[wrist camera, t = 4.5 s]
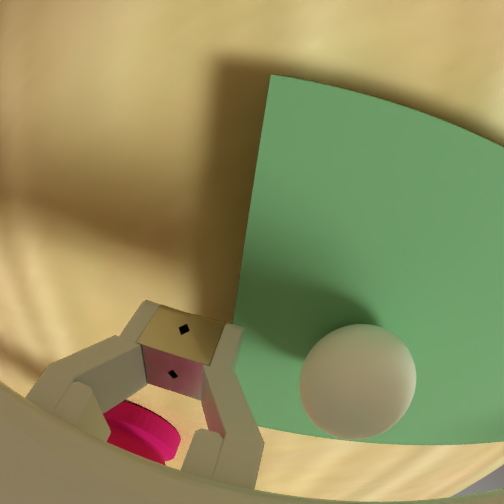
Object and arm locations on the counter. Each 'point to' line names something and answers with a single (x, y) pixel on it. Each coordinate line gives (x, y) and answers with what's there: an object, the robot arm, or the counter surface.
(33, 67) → the counter surface
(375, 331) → the ball
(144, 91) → the counter surface
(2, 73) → the counter surface
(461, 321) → the green
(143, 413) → the pepper mill
